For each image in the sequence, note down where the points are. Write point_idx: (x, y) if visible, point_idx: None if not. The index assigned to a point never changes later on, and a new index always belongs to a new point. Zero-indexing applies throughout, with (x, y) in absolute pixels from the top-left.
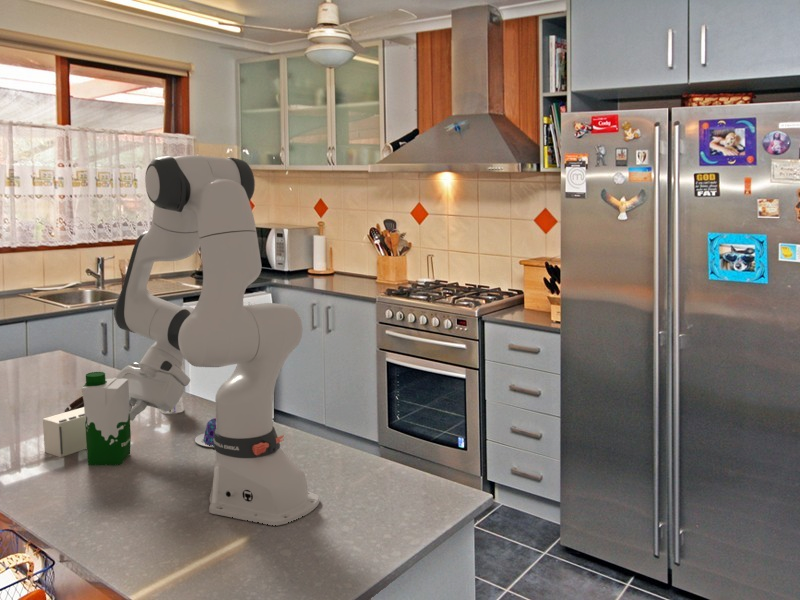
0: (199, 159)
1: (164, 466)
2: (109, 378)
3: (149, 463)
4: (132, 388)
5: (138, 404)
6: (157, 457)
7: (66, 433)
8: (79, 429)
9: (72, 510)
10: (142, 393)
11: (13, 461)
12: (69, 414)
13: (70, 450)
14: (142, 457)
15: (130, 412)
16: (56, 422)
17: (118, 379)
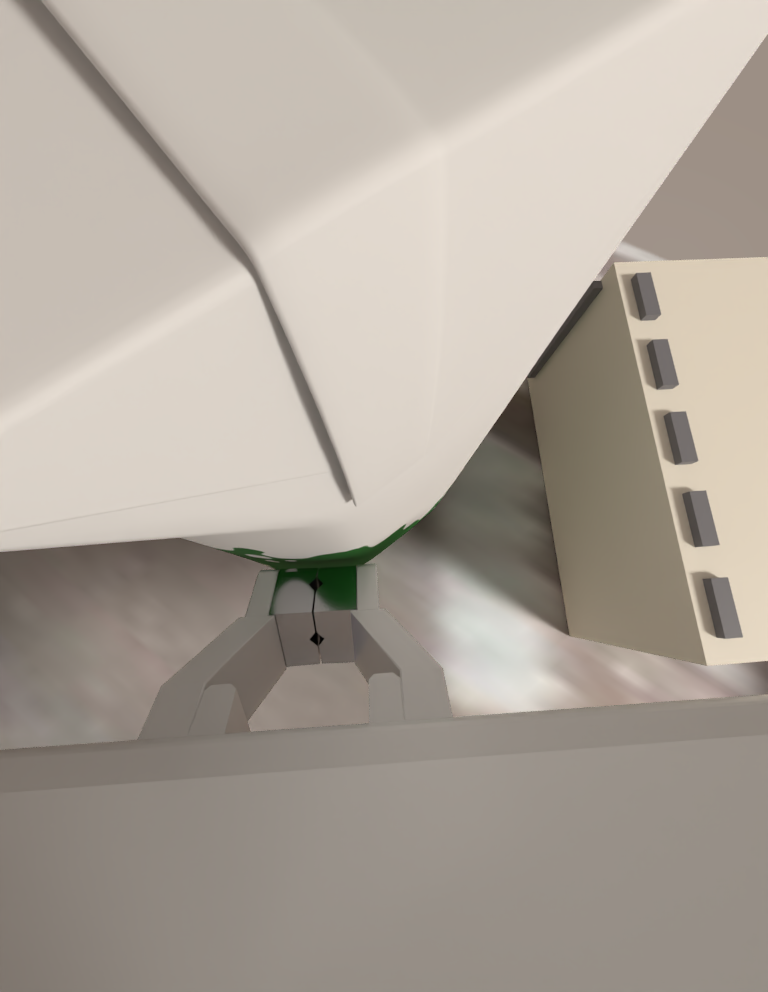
0: None
1: (50, 593)
2: (492, 84)
3: (144, 572)
4: (422, 880)
5: (173, 688)
6: (171, 648)
7: (582, 356)
8: (597, 434)
9: None
10: (71, 844)
11: (618, 260)
12: (763, 401)
13: (541, 417)
14: (236, 599)
15: (259, 599)
16: (645, 265)
17: (118, 240)
